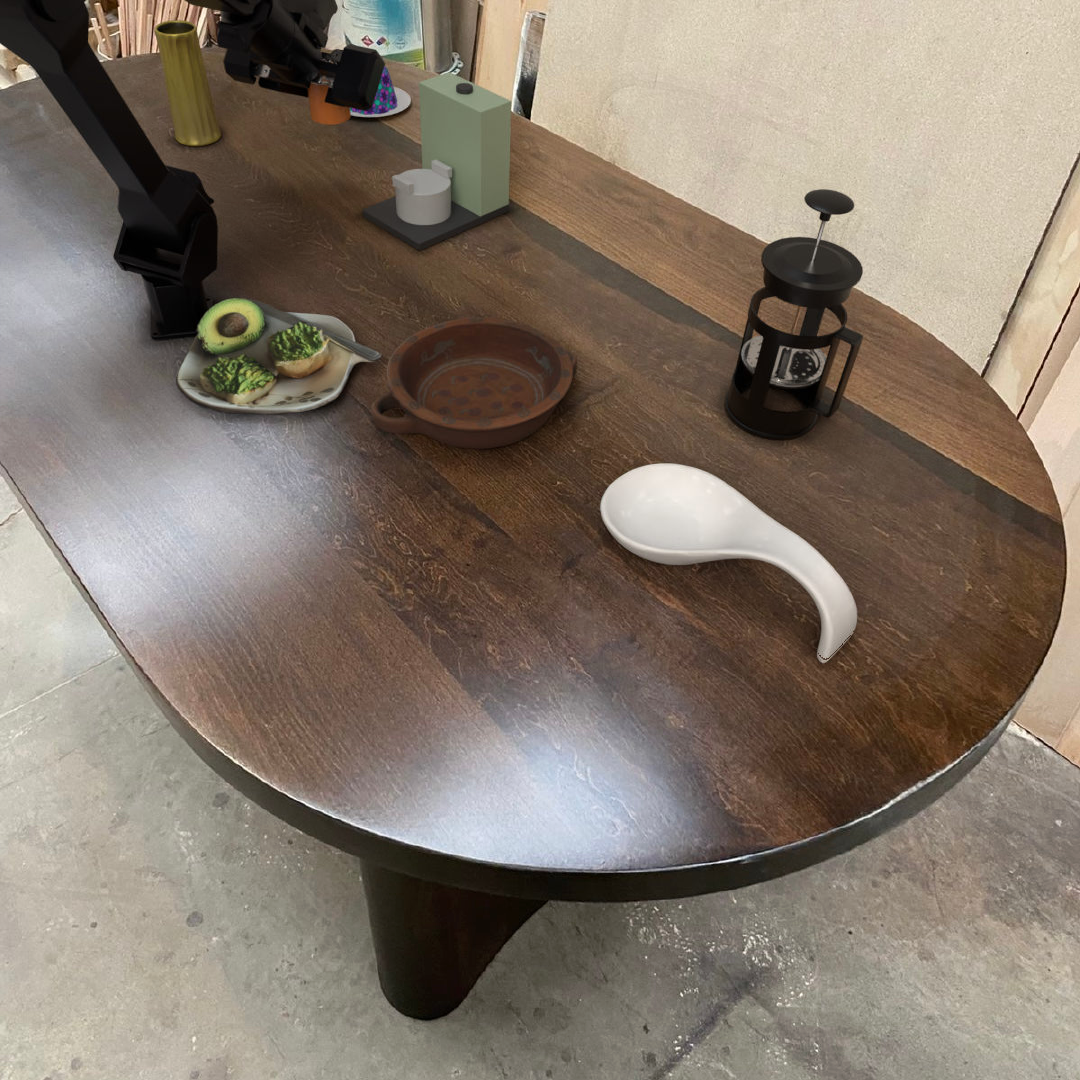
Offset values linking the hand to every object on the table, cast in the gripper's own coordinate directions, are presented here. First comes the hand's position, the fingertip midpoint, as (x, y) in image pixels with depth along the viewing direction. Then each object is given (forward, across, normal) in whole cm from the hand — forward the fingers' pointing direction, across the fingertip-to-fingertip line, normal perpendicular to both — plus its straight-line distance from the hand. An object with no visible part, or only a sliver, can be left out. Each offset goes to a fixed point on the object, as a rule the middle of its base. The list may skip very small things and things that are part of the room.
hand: (335, 99), depth 118 cm
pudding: (+25, +10, -9) cm, 28 cm away
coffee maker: (+8, -14, +8) cm, 18 cm away
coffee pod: (0, 0, +2) cm, 2 cm away
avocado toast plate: (-18, -13, +34) cm, 41 cm away
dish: (-16, -35, +32) cm, 50 cm away
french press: (-7, -62, +23) cm, 67 cm away
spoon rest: (-23, -63, +40) cm, 78 cm away
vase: (+10, +25, +6) cm, 28 cm away
